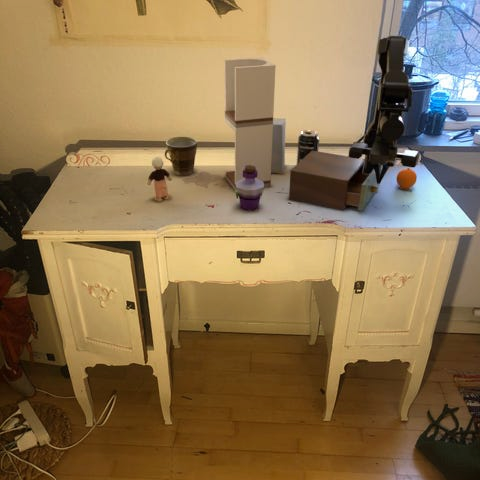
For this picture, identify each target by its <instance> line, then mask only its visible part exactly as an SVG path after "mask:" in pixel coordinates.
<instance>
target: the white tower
mask: <svg viewBox="0 0 480 480" xmlns="http://www.w3.org/2000/svg"><path fill="white" fill-rule="evenodd" d="M223 63H224V67H223V69H224V72H223V74H224V75H223V76H224V123H225V124H226V125H227V126H228V127H230V129H231V130H232V131H233V132H234V170H230V171H225V179H226V181H227V182H228V183H229V185H230V186H231V187H232V188H233V190H234V191H235V192H236V182H237V181H239V180H242V179H245V178H244V177H243V170H245V166H247V165H252V166H255V167H256V170H257V177H256V178H255V179H257V180H260V181H262V182H264V188H269V187H271V182H272V181H271V179H272V173H271V158H272V135H273V118H274V109H275V88H276V87H275V85H276V64H274V63H272V62H271V61H269V60H267V59H266V58H264V57H250V58H249V57H248V58H247V57H246V58H233V59H231V58H230V59H224V60H223Z"/></svg>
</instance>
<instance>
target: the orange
mask: <svg viewBox="0 0 480 480" xmlns="http://www.w3.org/2000/svg"><path fill="white" fill-rule="evenodd" d="M395 178H396V179H395V180H396V183H397V185H398V187H399V189H401V190H403V191H408V190H410V189H411V188H412V187H413V186H415V185H416V182H417V181H418V180H417V178H418V177H417V173H416V172H415V171H414V169H411V168H410V167H407V168H403V169H400V171H399V172H398V173H397V175H396V177H395Z"/></svg>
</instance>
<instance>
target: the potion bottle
mask: <svg viewBox="0 0 480 480" xmlns="http://www.w3.org/2000/svg"><path fill="white" fill-rule="evenodd" d="M243 177H244V178H245V179H242V180H239V181H237V182H236V191H235V197H236V199H237V200H239V204H240V205H239V207H240V209H241V210H244V211H247V212H249V211H252V212H254V211H256V210H258V209H259V206H260V201H261V197H263V192H264V188H265V187H264V182H262V181H260V180H257V179H255V178H256V177H257V170H256V167H255V166H252V165H247V166H245V170H243Z"/></svg>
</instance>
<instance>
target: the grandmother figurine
mask: <svg viewBox="0 0 480 480" xmlns="http://www.w3.org/2000/svg"><path fill="white" fill-rule="evenodd" d="M151 165H152V167H153V168H154V169H155V170H153V171H151V173H150V174H149V176H148V179H147V182H146V183H147V186H150V185H152V181H153V184H154V193H155V194H154V195H155V197H154V201H157V202H162V201H163V200H169V199H170V196H169V191H168V185H167V181H166V178H167V179H168V181H169V182H172V181H173V178H172V176H171V175H170V173H169V171H167V170H166V169H165V168H163V166H164V160H163V158H161V157H160V156H155V157H153V159H152V161H151ZM165 177H166V178H165Z"/></svg>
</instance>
